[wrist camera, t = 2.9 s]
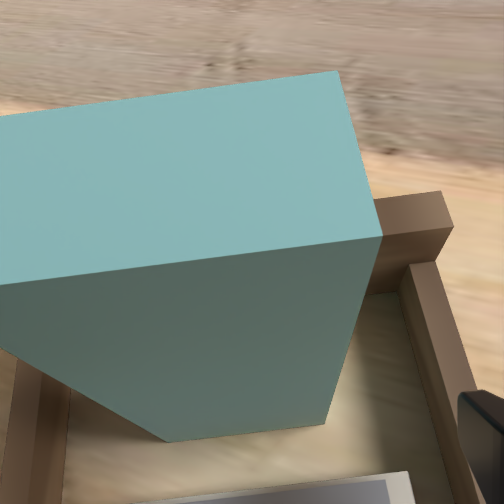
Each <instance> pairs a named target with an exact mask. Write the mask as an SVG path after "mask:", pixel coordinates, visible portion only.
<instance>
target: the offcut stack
mask: <svg viewBox="0 0 504 504" xmlns="http://www.w3.org/2000/svg"><path fill="white" fill-rule="evenodd" d="M130 504H416V502H415V498H414V494H413V490H412V485H411V481H410V477H409V473H408V472H407V471H402V472H394V473H385V474H377V475H368V476H360V477H351V478H343V479H334V480H326V481H317V482H309V483H300V484H292V485H283V486H275V487H266V488H258V489H249V490H241V491H232V492H224V493H215V494H207V495H198V496H190V497H181V498H173V499H164V500H156V501H147V502H139V503H130Z"/></svg>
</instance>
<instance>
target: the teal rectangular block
mask: <svg viewBox="0 0 504 504" xmlns="http://www.w3.org/2000/svg"><path fill="white" fill-rule="evenodd" d="M382 237H383V234H382V230H381V226H380V223H379V219H378V216H377V212H376V208H375V205H374V201H373V197H372V194H371V190H370V187H369V183H368V179H367V176H366V172H365V168H364V165H363V161H362V158H361V154H360V150H359V147H358V143H357V139H356V136H355V132H354V129H353V125H352V121H351V118H350V114H349V110H348V107H347V103H346V100H345V96H344V92H343V89H342V85H341V81H340V78H339V74H338V71H337V70H336V71H329V72H322V73H314V74H307V75H300V76H292V77H285V78H278V79H270V80H263V81H256V82H248V83H241V84H234V85H226V86H219V87H212V88H204V89H197V90H189V91H182V92H175V93H167V94H160V95H153V96H145V97H138V98H131V99H123V100H116V101H109V102H101V103H94V104H87V105H79V106H72V107H65V108H57V109H50V110H42V111H35V112H28V113H20V114H13V115H6V116H0V348H2V349H3V350H5V351H7V352H9V353H10V354H12V355H14V356H16V357H18V358H19V359H21V360H23V361H25V362H26V363H28V364H30V365H32V366H33V367H35V368H37V369H39V370H40V371H42V372H44V373H46V374H48V375H49V376H51V377H53V378H55V379H56V380H58V381H60V382H62V383H63V384H65V385H67V386H69V387H71V388H72V389H74V390H76V391H78V392H79V393H81V394H83V395H85V396H86V397H88V398H90V399H92V400H93V401H95V402H97V403H99V404H101V405H102V406H104V407H106V408H108V409H109V410H111V411H113V412H115V413H116V414H118V415H120V416H122V417H124V418H125V419H127V420H129V421H131V422H132V423H134V424H136V425H138V426H139V427H141V428H143V429H145V430H147V431H148V432H150V433H152V434H154V435H155V436H157V437H159V438H161V439H162V440H164V441H166V442H168V443H171V442H179V441H188V440H196V439H204V438H213V437H221V436H229V435H238V434H246V433H254V432H262V431H271V430H279V429H287V428H296V427H304V426H312V425H321V424H325V421H326V417H327V414H328V411H329V408H330V404H331V401H332V398H333V395H334V392H335V388H336V385H337V382H338V379H339V376H340V372H341V369H342V366H343V363H344V360H345V356H346V353H347V350H348V347H349V343H350V340H351V337H352V334H353V331H354V327H355V324H356V321H357V318H358V315H359V311H360V308H361V305H362V302H363V298H364V295H365V292H366V289H367V286H368V282H369V279H370V276H371V273H372V270H373V266H374V263H375V260H376V257H377V254H378V250H379V247H380V244H381V241H382Z"/></svg>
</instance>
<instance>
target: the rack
mask: <svg viewBox="0 0 504 504" xmlns="http://www.w3.org/2000/svg"><path fill="white" fill-rule="evenodd" d="M373 201H374V205H375V208H376V212H377V216H378V219H379V223H380V226H381V230H382V234H383V237H382V241H381V244H380V247H379V250H378V254H377V257H376V260H375V263H374V266H373V270H372V273H371V276H370V279H369V282H368V286H367V289H366V292H365V295H370V294H378V293H385V292H393V291H397V293H398V297H399V300H400V304H401V308H402V311H403V315H404V319H405V322H406V326H407V330H408V333H409V337H410V341H411V344H412V348H413V351H414V355H415V359H416V362H417V366H418V370H419V373H420V377H421V381H422V384H423V388H424V392H425V395H426V399H427V403H428V406H429V410H430V413H431V417H432V421H433V424H434V428H435V432H436V435H437V439H438V443H439V446H440V450H441V454H442V457H443V461H444V465H445V468H446V472H447V475H448V479H449V483H450V486H451V490H452V494H453V497H454V501H455V504H486V502H485V500H484V498H483V495H482V493H481V491H480V489H479V486H478V484H477V482H476V480H475V477H474V475H473V473H472V471H471V469H470V466H469V464H468V462H467V460H466V457H465V455H464V453H463V451H462V448H461V446H460V443H459V439H458V433H457V398H458V395H459V394H460V393H461V392H464V391H472V390H477V387H476V384H475V381H474V378H473V375H472V372H471V369H470V366H469V363H468V360H467V357H466V354H465V351H464V348H463V344H462V341H461V338H460V335H459V332H458V329H457V326H456V323H455V320H454V317H453V314H452V311H451V308H450V305H449V302H448V299H447V296H446V293H445V290H444V287H443V284H442V281H441V277H440V274H439V271H438V268H437V265H436V262H435V260H436V258H437V257H438V255H439V253H440V251H441V249H442V247H443V246H444V244H445V242H446V240H447V238H448V236H449V235H450V233H451V231H452V229H453V227H454V225H453V222H452V220H451V217H450V214H449V212H448V209H447V206H446V203H445V201H444V198H443V195H442V192H441V191H434V192H426V193H419V194H411V195H403V196H395V197H388V198H380V199H373ZM70 391H71V387H69V386H67V385H65V384H63V383H62V382H60V381H58V380H56V379H55V378H53V377H51V376H49V375H48V374H46V373H44V372H42V371H40V370H39V369H37V368H35V367H33V366H32V365H30V364H28V363H26V362H25V361H23V360H21V359H19V358H18V361H17V368H16V375H15V383H14V390H13V397H12V404H11V411H10V418H9V425H8V432H7V439H6V446H5V453H4V460H3V467H2V474H1V482H0V504H61V499H62V487H63V475H64V463H65V451H66V439H67V427H68V415H69V403H70Z"/></svg>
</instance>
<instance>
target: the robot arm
mask: <svg viewBox="0 0 504 504" xmlns="http://www.w3.org/2000/svg"><path fill="white" fill-rule="evenodd" d="M457 433H458V439H459V443H460V446H461V448H462V451H463V453H464V455H465V457H466V460H467V462H468V464H469V466H470V469H471V471H472V473H473V475H474V477H475V480H476V482H477V484H478V486H479V489H480V491H481V493H482V495H483V498H484V500H485V502H486V504H504V399H503V398H500V397H498V396H496V395H494V394H492V393H490V392H488V391H485V390H472V391H464V392H461V393H460V394H459V395H458V398H457Z"/></svg>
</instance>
